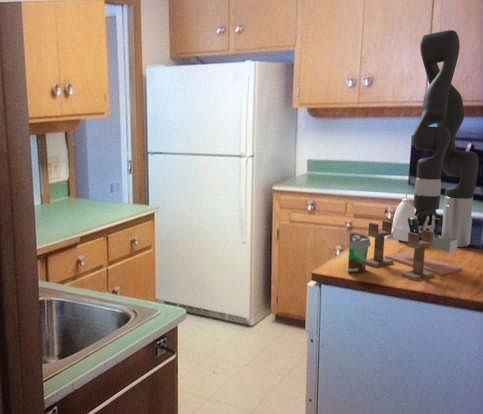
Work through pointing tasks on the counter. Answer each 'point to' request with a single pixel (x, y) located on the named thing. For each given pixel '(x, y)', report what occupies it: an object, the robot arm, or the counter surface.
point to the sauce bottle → (403, 213)
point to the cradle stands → (412, 242)
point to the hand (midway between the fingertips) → (423, 247)
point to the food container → (358, 253)
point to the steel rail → (437, 243)
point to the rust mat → (425, 263)
